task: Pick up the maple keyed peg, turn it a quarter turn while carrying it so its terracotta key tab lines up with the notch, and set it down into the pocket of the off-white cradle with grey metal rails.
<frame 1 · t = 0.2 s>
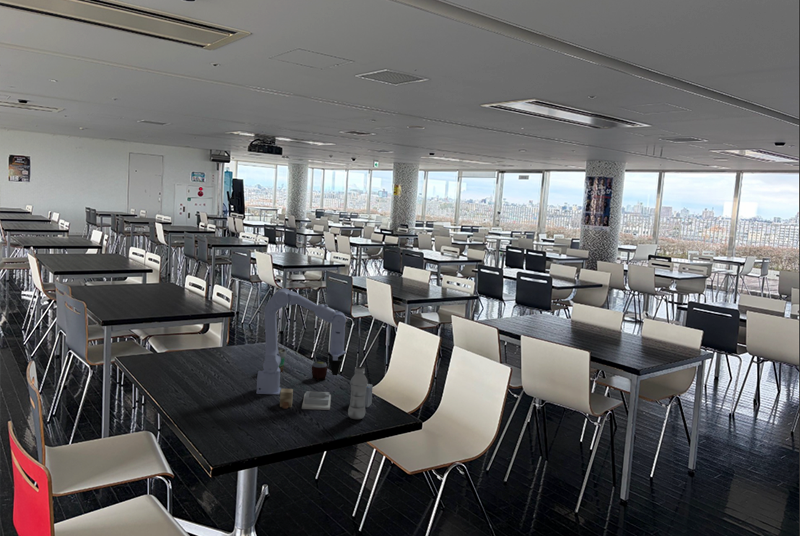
hand: (335, 372, 252), 10 cm above the table, tool pointing down, fingers open, 7 cm apart
keyed peg: (286, 405, 238), on the table
mate gourd: (318, 379, 272), on the table
keyed cradle: (316, 402, 243), on the table
plastic bottle: (356, 418, 230), on the table
food container: (278, 371, 280), on the table
medicine box: (360, 405, 245), on the table
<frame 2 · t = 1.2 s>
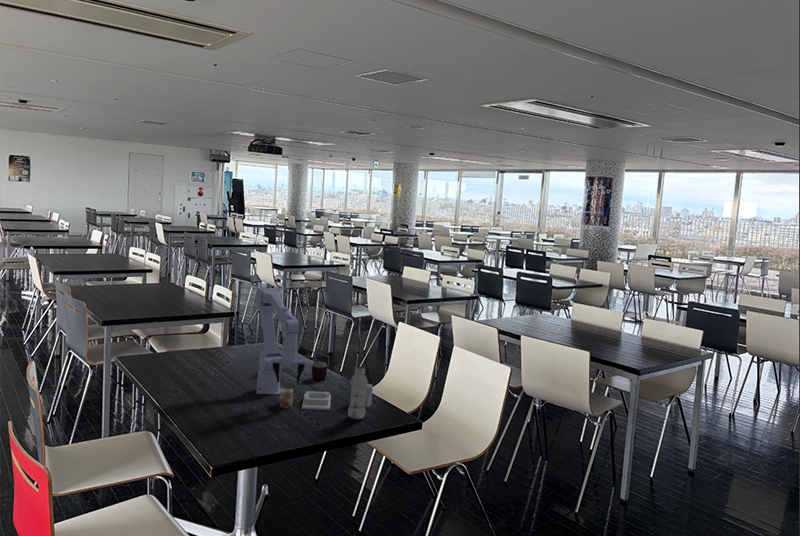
hand: (288, 382, 237), 9 cm above the table, tool pointing down, fingers open, 7 cm apart
nothing on the table moved.
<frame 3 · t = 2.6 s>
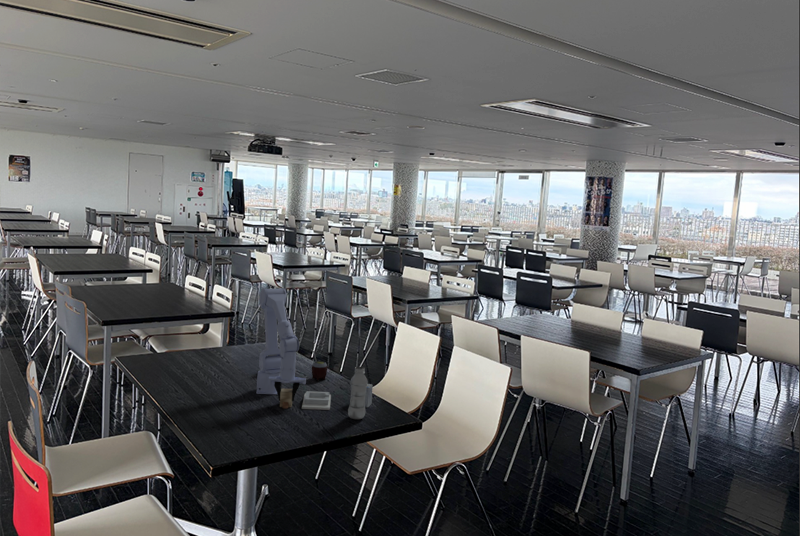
hand: (286, 400, 238), 2 cm above the table, tool pointing down, fingers closed on keyed peg, 4 cm apart
keyed peg: (286, 405, 238), on the table, touching gripper
everything else where it was.
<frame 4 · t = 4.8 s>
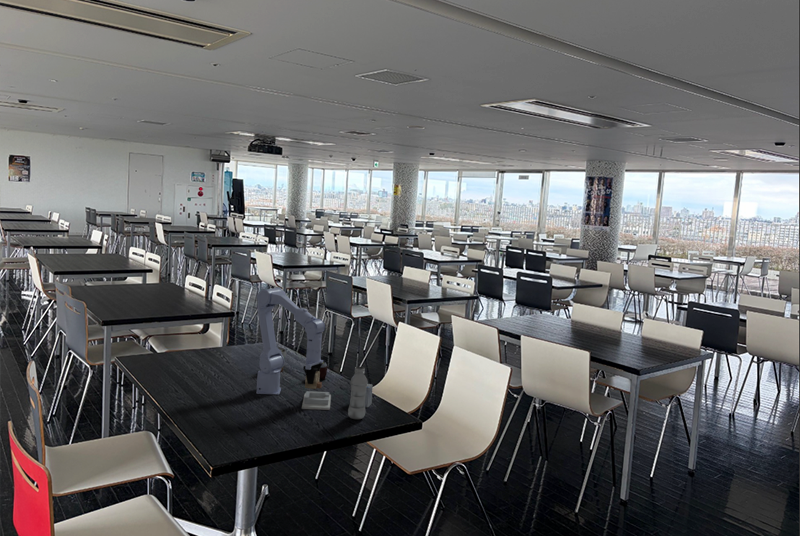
hand: (312, 381, 241), 9 cm above the table, tool pointing down, fingers closed on keyed peg, 4 cm apart
keyed peg: (312, 386, 241), point 7 cm above the table, touching gripper
everything else where it was.
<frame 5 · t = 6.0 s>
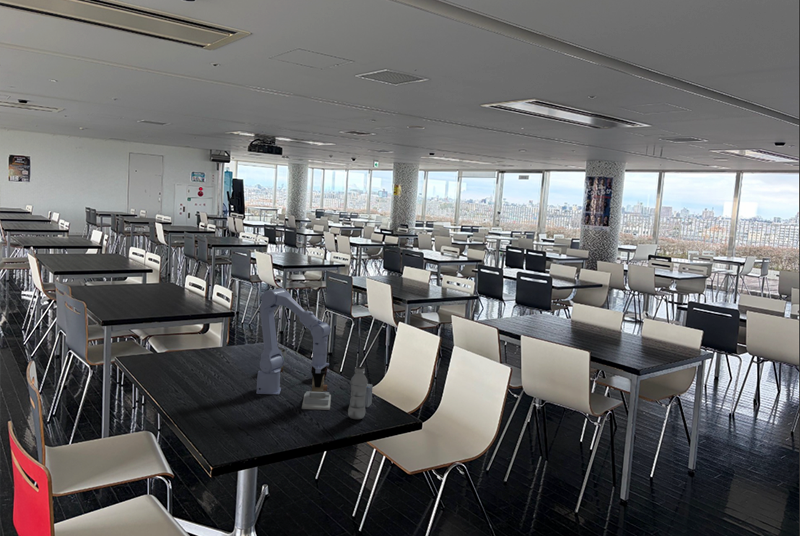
hand: (317, 385, 242), 7 cm above the table, tool pointing down, fingers closed on keyed peg, 4 cm apart
keyed peg: (317, 389, 242), point 5 cm above the table, touching gripper
everything else where it was.
when the fingers open (4 cm above the table, at t = 7.2 s): keyed peg stays where it is, resting on keyed cradle.
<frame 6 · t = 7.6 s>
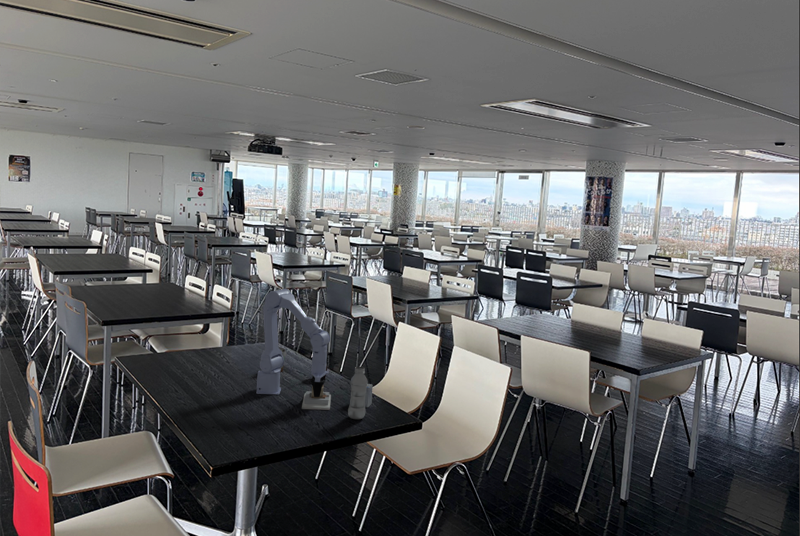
hand: (317, 393, 242), 4 cm above the table, tool pointing down, fingers open, 7 cm apart
keyed peg: (317, 400, 243), point 1 cm above the table, touching keyed cradle
everything else where it was.
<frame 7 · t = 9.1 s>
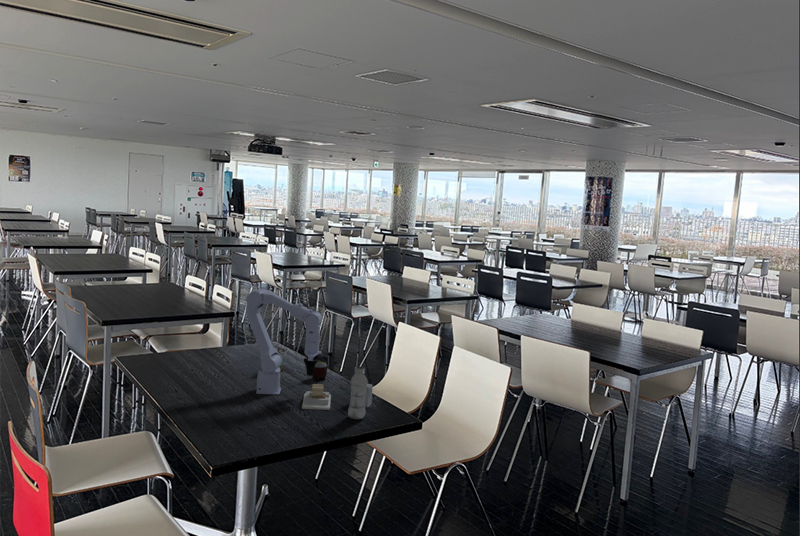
hand: (310, 372, 248), 10 cm above the table, tool pointing down, fingers open, 7 cm apart
nothing on the table moved.
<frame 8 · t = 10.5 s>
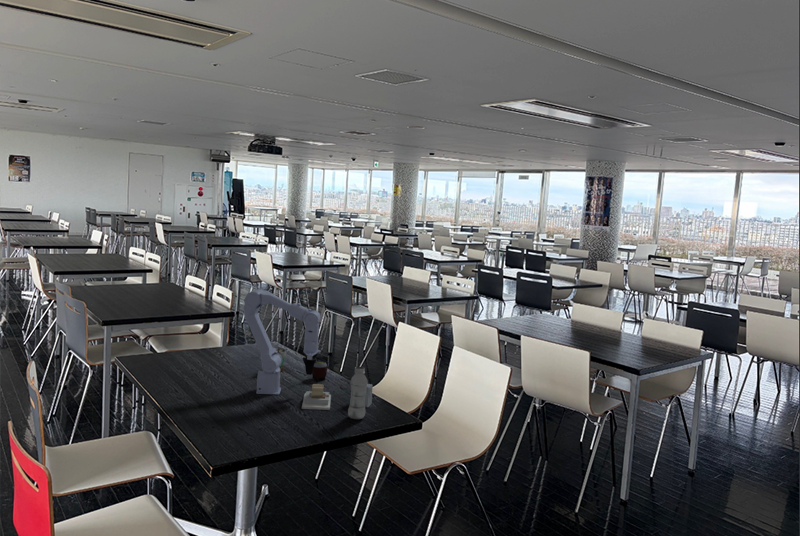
hand: (309, 371, 249), 10 cm above the table, tool pointing down, fingers open, 7 cm apart
nothing on the table moved.
at the end: keyed peg 0.1 cm off-centre on the keyed cradle, point 1.0 cm above the keyed cradle's base; keyed peg tilted 0°; the gripper is holding nothing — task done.
